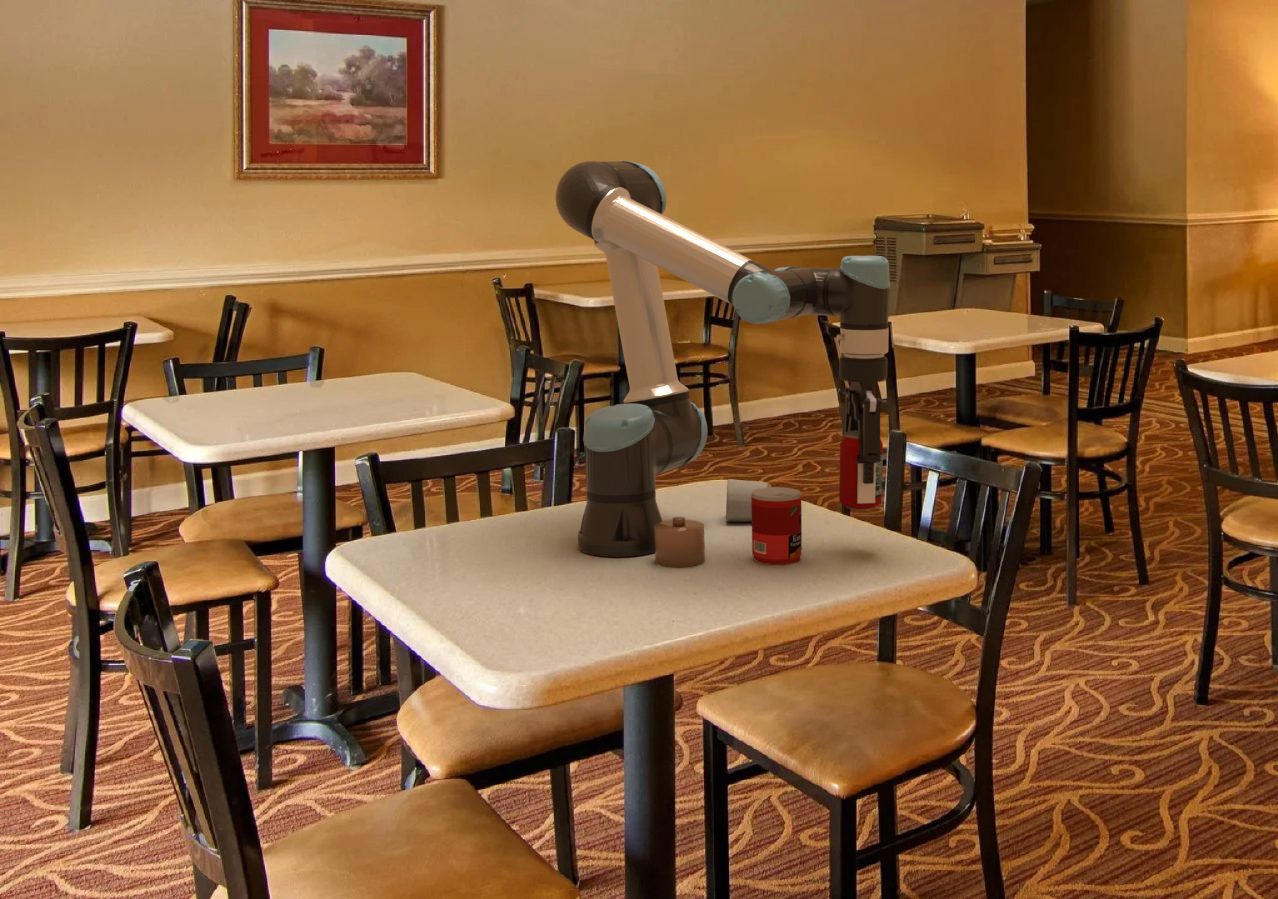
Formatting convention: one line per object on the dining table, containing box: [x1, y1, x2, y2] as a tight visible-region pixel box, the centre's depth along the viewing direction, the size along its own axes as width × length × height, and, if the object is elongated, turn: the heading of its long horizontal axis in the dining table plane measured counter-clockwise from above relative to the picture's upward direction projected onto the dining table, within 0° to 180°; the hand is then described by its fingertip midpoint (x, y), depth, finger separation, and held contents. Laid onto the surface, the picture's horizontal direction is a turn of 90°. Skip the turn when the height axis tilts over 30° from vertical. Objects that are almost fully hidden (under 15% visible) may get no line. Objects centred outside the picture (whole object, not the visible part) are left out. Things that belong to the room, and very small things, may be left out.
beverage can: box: [838, 430, 884, 511], centre depth 211 cm, size 7×7×12 cm
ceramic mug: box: [725, 478, 772, 523], centre depth 238 cm, size 11×8×8 cm
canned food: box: [751, 486, 803, 565], centre depth 211 cm, size 8×8×11 cm
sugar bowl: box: [654, 516, 706, 569], centre depth 212 cm, size 8×8×7 cm
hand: (860, 497), depth 211 cm, fingers closed on beverage can, 7 cm apart
